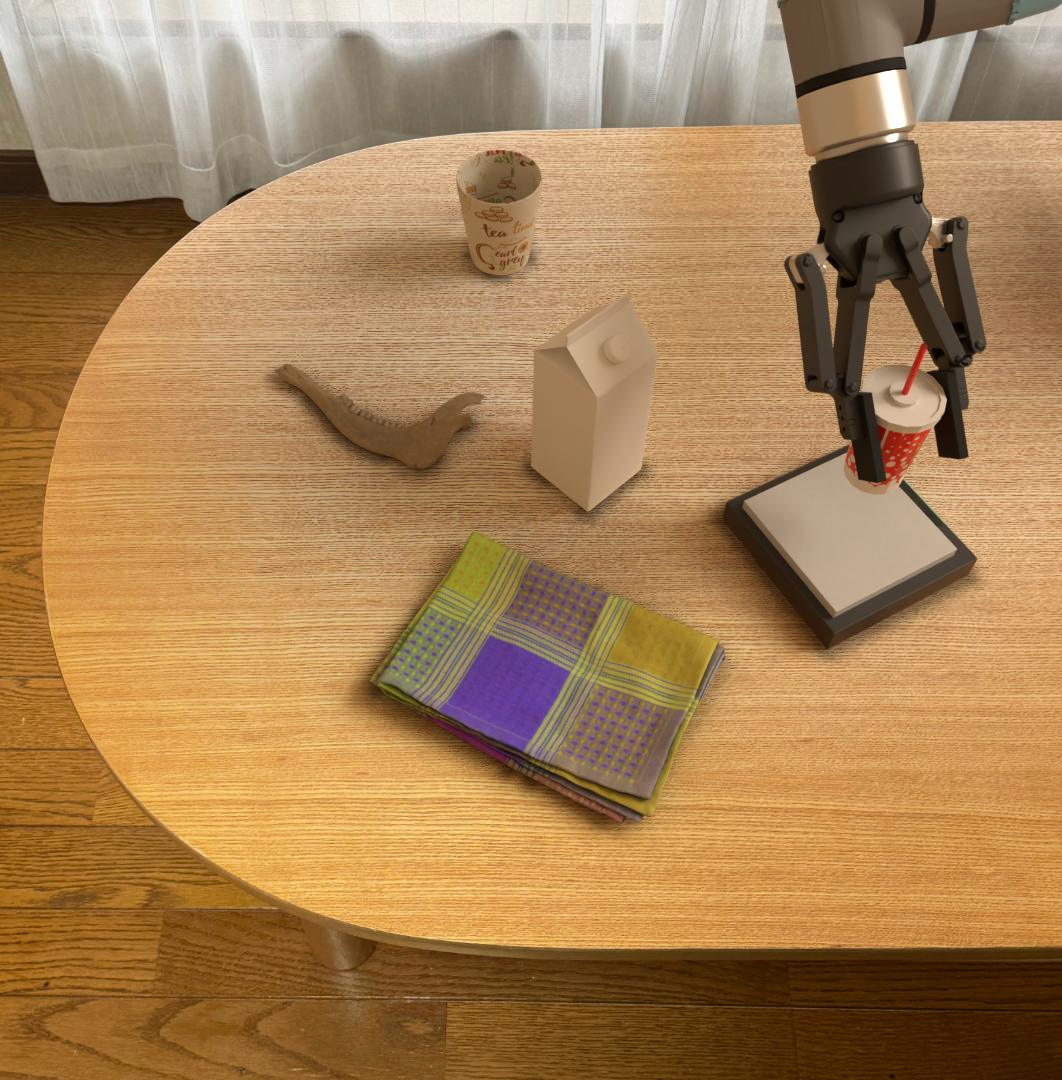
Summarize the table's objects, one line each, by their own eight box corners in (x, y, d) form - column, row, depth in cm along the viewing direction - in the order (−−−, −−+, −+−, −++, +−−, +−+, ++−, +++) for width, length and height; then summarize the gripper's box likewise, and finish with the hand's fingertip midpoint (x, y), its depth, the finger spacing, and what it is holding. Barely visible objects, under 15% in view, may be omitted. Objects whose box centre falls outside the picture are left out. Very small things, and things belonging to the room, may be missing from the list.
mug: (450, 276, 119) (445, 196, 111) (482, 198, 127) (480, 118, 118) (529, 290, 118) (530, 210, 110) (557, 211, 126) (560, 131, 117)
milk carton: (530, 468, 105) (533, 312, 90) (585, 426, 108) (597, 268, 93) (587, 514, 102) (601, 361, 87) (642, 469, 105) (664, 314, 90)
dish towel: (477, 535, 101) (476, 516, 99) (737, 657, 94) (743, 640, 92) (363, 692, 92) (359, 676, 90) (642, 840, 85) (645, 825, 83)
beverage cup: (922, 461, 93) (981, 335, 82) (895, 514, 90) (952, 391, 79) (850, 430, 95) (897, 302, 83) (821, 481, 92) (866, 356, 80)
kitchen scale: (858, 454, 107) (867, 429, 104) (969, 574, 99) (983, 551, 96) (721, 518, 102) (727, 494, 99) (827, 649, 95) (837, 627, 92)
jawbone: (463, 484, 105) (461, 471, 103) (247, 446, 107) (241, 432, 105) (487, 404, 109) (485, 391, 107) (278, 369, 112) (274, 355, 110)
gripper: (948, 133, 88) (993, 434, 92) (715, 184, 84) (774, 496, 88) (1012, 112, 80) (1057, 439, 85) (760, 167, 76) (822, 507, 81)
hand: (913, 467), depth 87 cm, fingers closed on beverage cup, 6 cm apart
